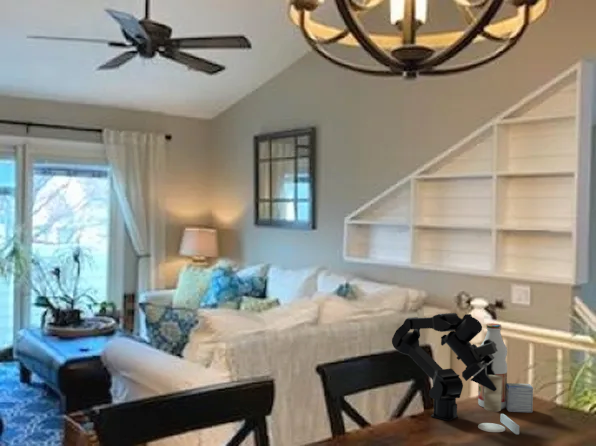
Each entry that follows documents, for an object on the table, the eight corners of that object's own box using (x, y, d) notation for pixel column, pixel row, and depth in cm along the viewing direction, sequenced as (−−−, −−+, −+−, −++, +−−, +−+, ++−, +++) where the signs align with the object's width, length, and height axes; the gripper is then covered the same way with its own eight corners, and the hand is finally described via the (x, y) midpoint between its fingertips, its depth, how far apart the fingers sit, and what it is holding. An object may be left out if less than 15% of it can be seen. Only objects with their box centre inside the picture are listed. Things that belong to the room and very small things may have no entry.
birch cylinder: (481, 409, 204) (482, 376, 204) (487, 405, 208) (488, 373, 208) (497, 412, 201) (497, 379, 201) (503, 408, 205) (504, 376, 205)
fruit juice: (491, 411, 222) (493, 327, 222) (472, 403, 231) (473, 323, 230) (512, 407, 227) (514, 325, 226) (492, 400, 235) (494, 321, 235)
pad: (473, 428, 204) (473, 427, 204) (484, 422, 210) (484, 421, 210) (498, 434, 199) (498, 433, 199) (509, 427, 205) (509, 426, 205)
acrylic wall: (500, 421, 211) (500, 413, 211) (503, 421, 211) (503, 413, 211) (515, 434, 199) (516, 426, 199) (519, 434, 199) (519, 426, 199)
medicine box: (529, 409, 225) (530, 383, 225) (532, 413, 221) (533, 387, 221) (505, 408, 226) (506, 382, 226) (508, 412, 222) (508, 386, 222)
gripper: (473, 336, 198) (510, 378, 193) (488, 327, 214) (523, 366, 209) (447, 359, 202) (482, 401, 197) (463, 349, 218) (497, 387, 213)
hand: (497, 388), depth 204 cm, fingers closed on birch cylinder, 5 cm apart
